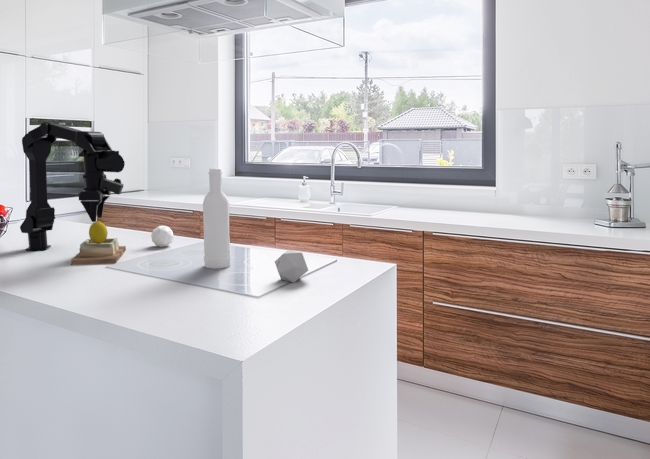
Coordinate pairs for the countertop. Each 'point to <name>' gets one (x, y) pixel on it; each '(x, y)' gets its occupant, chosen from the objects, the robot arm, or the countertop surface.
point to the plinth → (98, 258)
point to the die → (291, 266)
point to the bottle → (216, 224)
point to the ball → (162, 236)
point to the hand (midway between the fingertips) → (97, 219)
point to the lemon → (98, 232)
